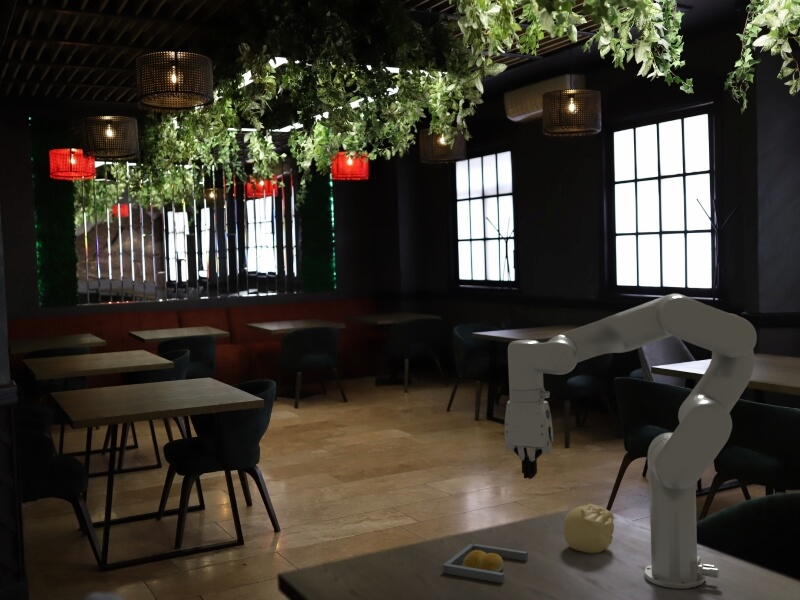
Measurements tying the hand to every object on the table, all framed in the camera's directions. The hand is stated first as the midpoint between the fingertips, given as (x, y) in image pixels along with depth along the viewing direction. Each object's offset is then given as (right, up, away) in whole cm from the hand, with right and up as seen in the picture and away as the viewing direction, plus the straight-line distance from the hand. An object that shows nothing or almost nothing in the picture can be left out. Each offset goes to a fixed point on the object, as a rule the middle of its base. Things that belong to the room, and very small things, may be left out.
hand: (529, 476), depth 185 cm
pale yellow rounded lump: (+17, -21, +15) cm, 31 cm away
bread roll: (-10, -23, +6) cm, 25 cm away
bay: (-9, -22, +7) cm, 25 cm away
